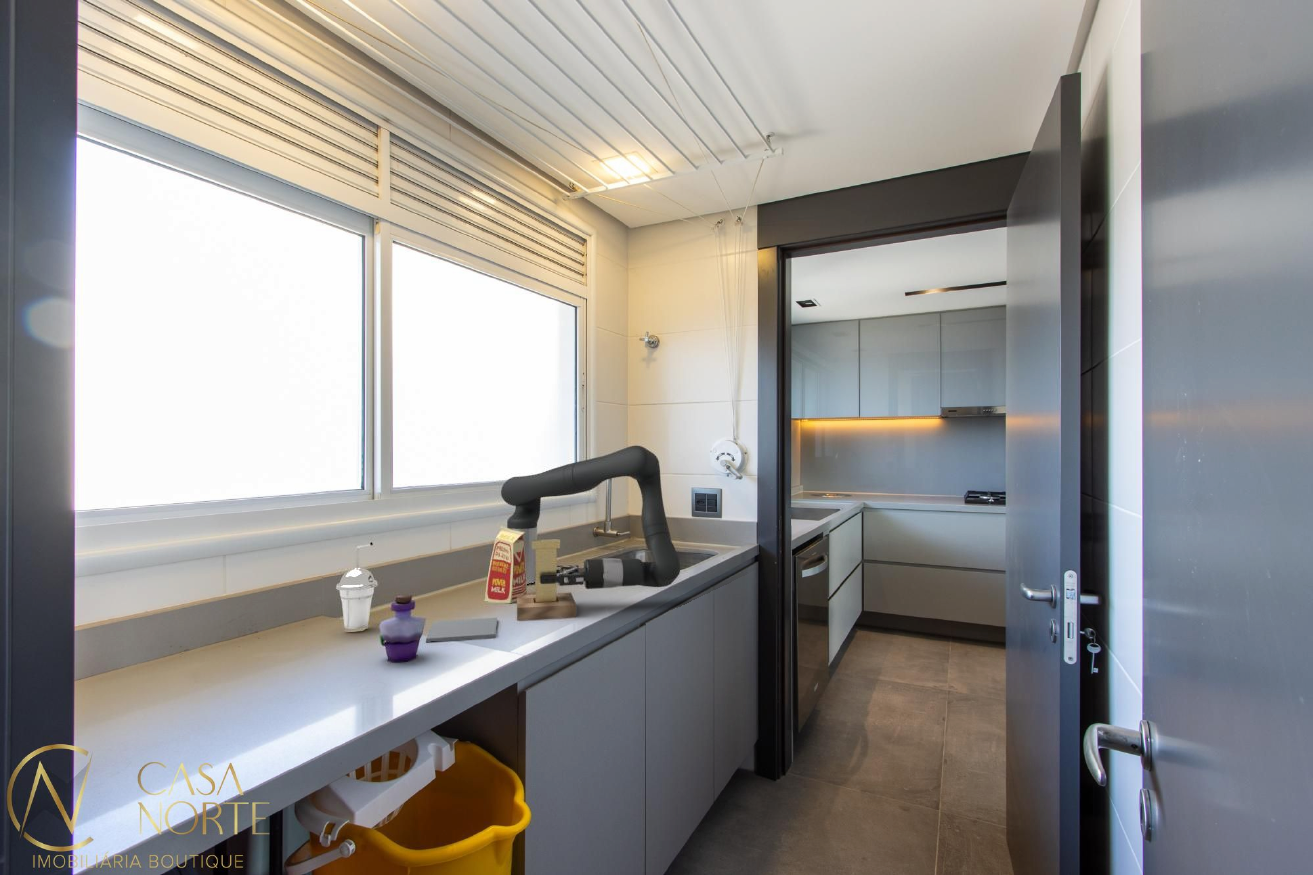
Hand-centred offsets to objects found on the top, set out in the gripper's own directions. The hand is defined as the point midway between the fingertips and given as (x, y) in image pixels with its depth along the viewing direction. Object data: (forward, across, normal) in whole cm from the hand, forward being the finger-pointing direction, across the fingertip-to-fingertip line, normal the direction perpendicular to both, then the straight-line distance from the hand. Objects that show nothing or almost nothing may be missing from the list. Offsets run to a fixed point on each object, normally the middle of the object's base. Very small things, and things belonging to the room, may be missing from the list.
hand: (539, 576), depth 150 cm
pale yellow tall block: (-2, 0, +9) cm, 9 cm away
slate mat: (+17, +13, +9) cm, 23 cm away
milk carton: (+8, -17, +9) cm, 21 cm away
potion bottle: (+27, +30, +9) cm, 41 cm away
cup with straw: (+41, +7, +9) cm, 42 cm away
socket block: (-2, 0, +9) cm, 9 cm away
